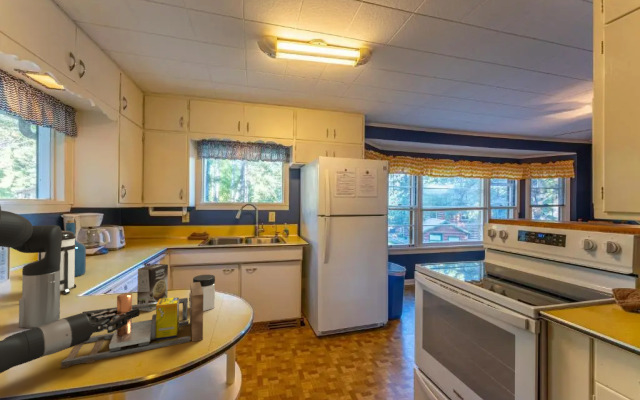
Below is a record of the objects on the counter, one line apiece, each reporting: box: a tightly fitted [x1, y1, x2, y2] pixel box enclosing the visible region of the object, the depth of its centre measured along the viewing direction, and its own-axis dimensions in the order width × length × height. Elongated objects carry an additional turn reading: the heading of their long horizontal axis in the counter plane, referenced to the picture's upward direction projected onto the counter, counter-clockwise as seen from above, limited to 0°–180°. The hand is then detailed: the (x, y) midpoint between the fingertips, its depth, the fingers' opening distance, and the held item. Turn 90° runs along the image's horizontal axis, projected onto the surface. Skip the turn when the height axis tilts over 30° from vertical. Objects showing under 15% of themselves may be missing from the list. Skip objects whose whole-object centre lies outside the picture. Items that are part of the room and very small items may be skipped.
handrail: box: [81, 297, 189, 321], centre depth 95 cm, size 30×2×8 cm, turn 117°
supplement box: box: [155, 296, 180, 342], centre depth 90 cm, size 6×6×11 cm
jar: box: [192, 274, 216, 312], centre depth 112 cm, size 9×8×12 cm
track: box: [60, 319, 191, 369], centre depth 85 cm, size 30×15×1 cm, turn 117°
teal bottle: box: [64, 219, 87, 278], centre depth 153 cm, size 14×13×30 cm
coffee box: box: [136, 263, 169, 312], centre depth 112 cm, size 9×6×16 cm
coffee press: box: [37, 225, 77, 296], centre depth 125 cm, size 17×16×30 cm
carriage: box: [108, 292, 156, 352], centre depth 85 cm, size 11×13×13 cm
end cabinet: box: [188, 282, 204, 342], centre depth 92 cm, size 4×14×14 cm, turn 27°
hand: (134, 310), depth 86 cm, fingers closed on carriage, 3 cm apart
